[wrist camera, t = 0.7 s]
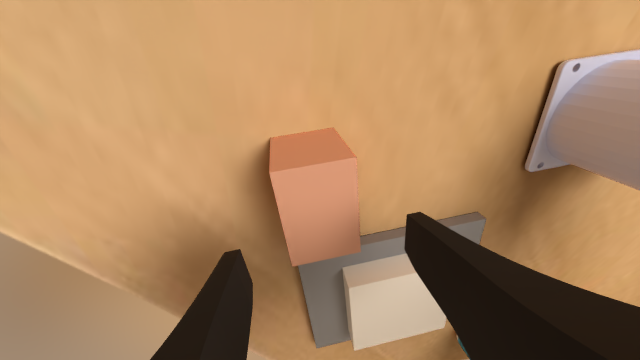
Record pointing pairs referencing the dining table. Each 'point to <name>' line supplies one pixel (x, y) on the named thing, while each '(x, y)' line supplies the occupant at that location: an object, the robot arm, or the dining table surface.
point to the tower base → (370, 249)
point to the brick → (316, 194)
